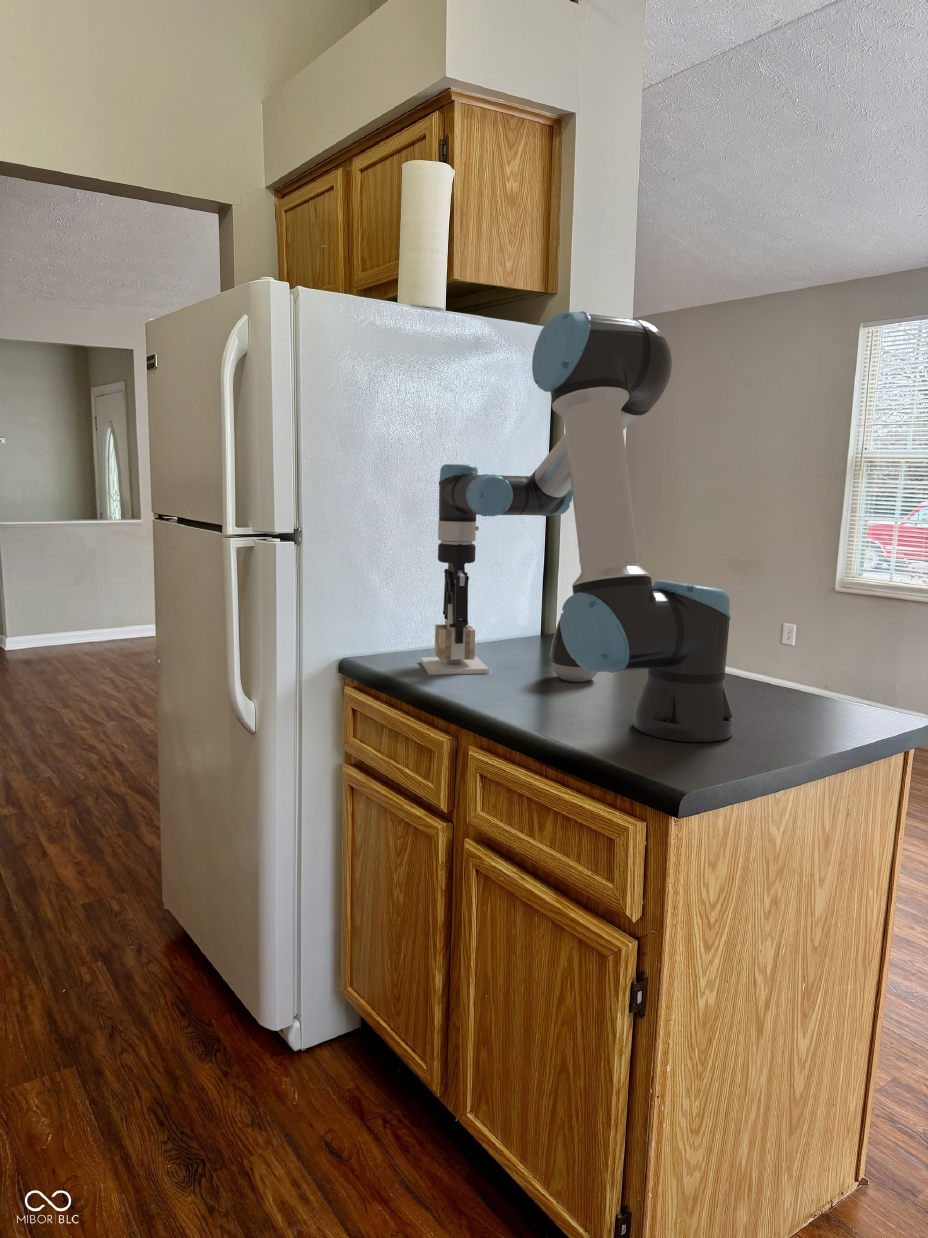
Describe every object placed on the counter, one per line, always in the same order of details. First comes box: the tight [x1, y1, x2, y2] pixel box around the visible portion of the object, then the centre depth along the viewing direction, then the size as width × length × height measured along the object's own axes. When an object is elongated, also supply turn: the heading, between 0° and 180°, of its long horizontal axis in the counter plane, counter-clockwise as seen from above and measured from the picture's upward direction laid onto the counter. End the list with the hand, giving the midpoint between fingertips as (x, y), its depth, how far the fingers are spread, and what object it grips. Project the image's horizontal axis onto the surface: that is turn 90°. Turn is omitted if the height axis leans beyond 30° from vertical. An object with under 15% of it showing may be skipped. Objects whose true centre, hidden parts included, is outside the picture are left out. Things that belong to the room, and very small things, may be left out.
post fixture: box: [420, 604, 490, 676], centre depth 179 cm, size 12×12×13 cm
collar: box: [434, 623, 476, 660], centre depth 179 cm, size 7×7×6 cm
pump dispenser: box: [549, 619, 599, 683], centre depth 171 cm, size 10×10×15 cm
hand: (454, 655), depth 180 cm, fingers closed on collar, 7 cm apart
